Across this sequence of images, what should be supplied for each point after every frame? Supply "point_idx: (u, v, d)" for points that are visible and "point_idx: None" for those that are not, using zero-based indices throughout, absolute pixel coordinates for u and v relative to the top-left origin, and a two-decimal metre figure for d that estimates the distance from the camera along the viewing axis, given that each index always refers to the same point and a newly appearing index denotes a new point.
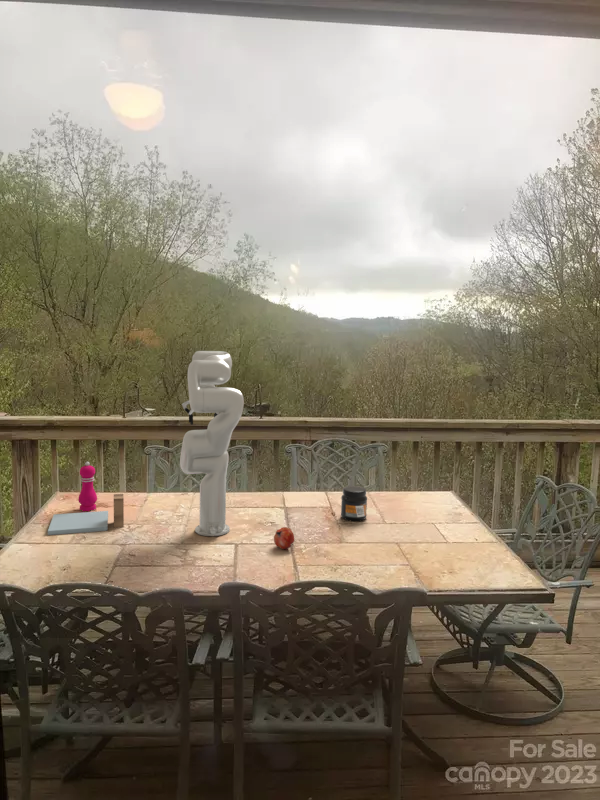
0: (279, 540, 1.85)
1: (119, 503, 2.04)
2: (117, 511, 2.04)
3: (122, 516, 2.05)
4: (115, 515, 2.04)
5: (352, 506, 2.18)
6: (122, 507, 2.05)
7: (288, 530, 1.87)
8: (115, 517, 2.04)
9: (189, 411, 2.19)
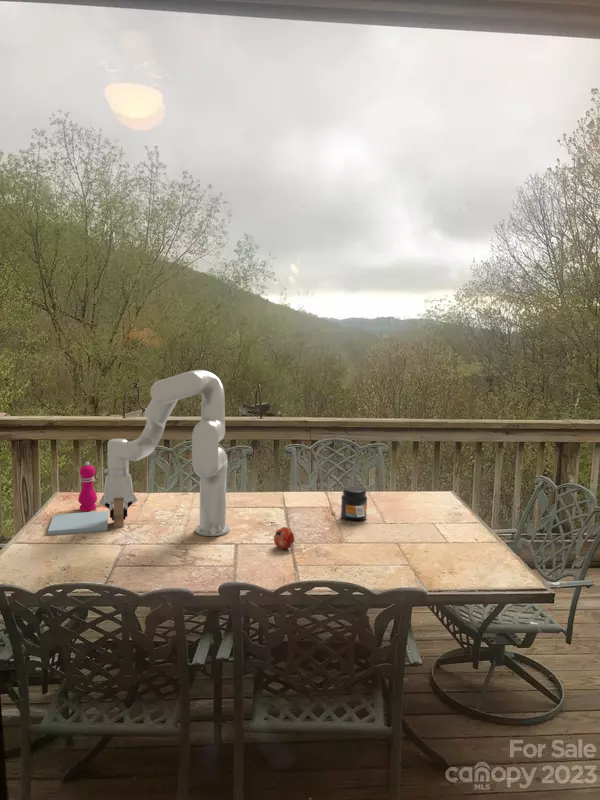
0: (279, 540, 1.85)
1: (119, 503, 2.04)
2: (117, 511, 2.04)
3: (122, 516, 2.05)
4: (115, 515, 2.04)
5: (352, 506, 2.18)
6: (122, 507, 2.05)
7: (288, 530, 1.87)
8: (115, 517, 2.04)
9: None
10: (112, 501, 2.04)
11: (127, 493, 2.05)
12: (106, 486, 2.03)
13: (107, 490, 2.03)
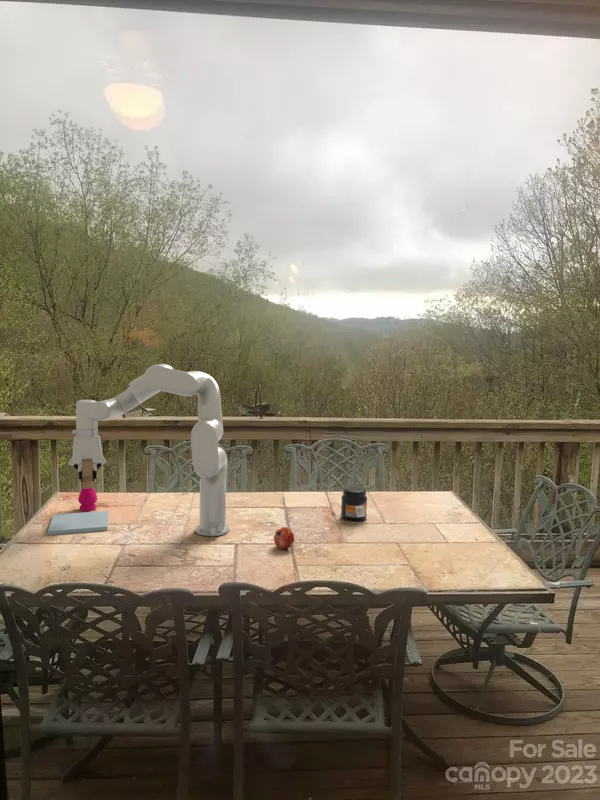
0: (279, 540, 1.85)
1: (88, 464, 2.03)
2: (86, 472, 2.03)
3: (91, 477, 2.04)
4: (84, 476, 2.03)
5: (352, 506, 2.18)
6: (91, 468, 2.04)
7: (288, 530, 1.87)
8: (84, 478, 2.03)
9: (77, 468, 2.05)
10: (80, 462, 2.03)
11: (96, 454, 2.04)
12: (74, 447, 2.02)
13: (75, 451, 2.02)
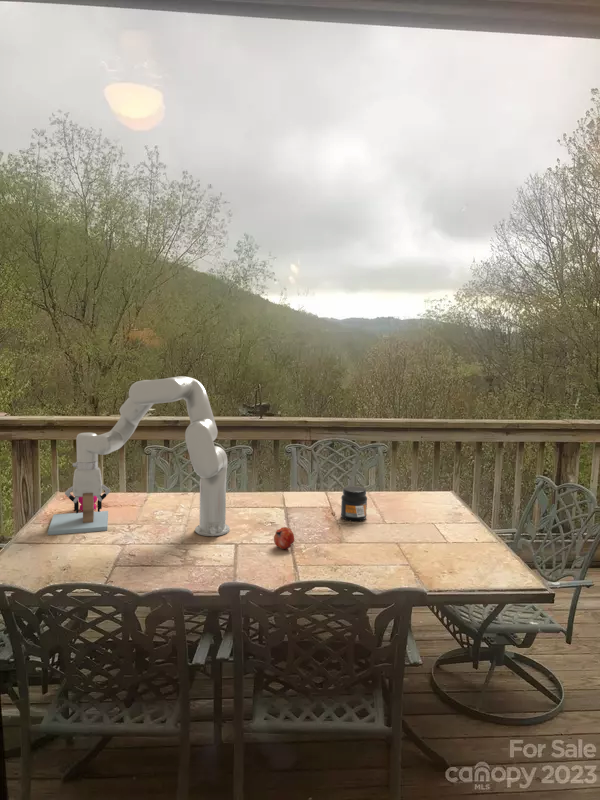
0: (279, 540, 1.85)
1: (88, 498, 2.04)
2: (86, 506, 2.04)
3: (91, 511, 2.05)
4: (84, 510, 2.04)
5: (352, 506, 2.18)
6: (91, 502, 2.05)
7: (288, 530, 1.87)
8: (84, 512, 2.04)
9: (73, 499, 2.05)
10: (81, 495, 2.04)
11: (96, 487, 2.06)
12: (75, 480, 2.03)
13: (76, 484, 2.03)
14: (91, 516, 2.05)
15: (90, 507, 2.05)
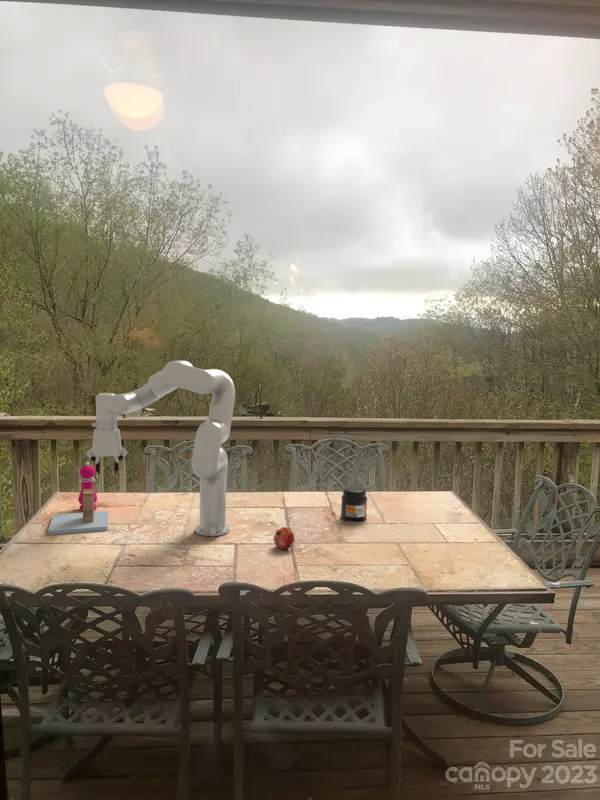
0: (279, 540, 1.85)
1: (88, 498, 2.04)
2: (86, 506, 2.04)
3: (91, 511, 2.05)
4: (84, 510, 2.04)
5: (352, 506, 2.18)
6: (91, 502, 2.05)
7: (288, 530, 1.87)
8: (84, 512, 2.04)
9: None
10: (100, 454, 2.05)
11: (115, 447, 2.06)
12: (94, 439, 2.04)
13: (95, 443, 2.04)
14: (91, 516, 2.05)
15: (90, 507, 2.05)
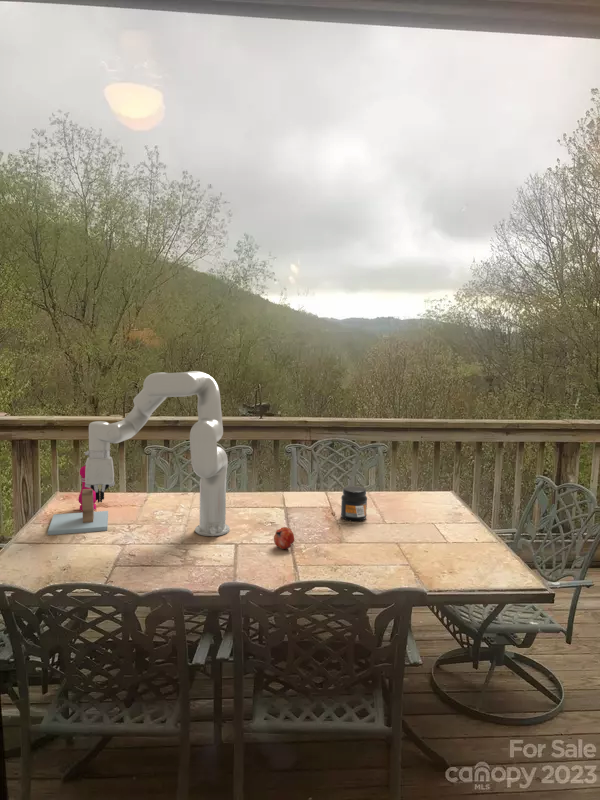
0: (279, 540, 1.85)
1: (87, 498, 2.04)
2: (86, 506, 2.04)
3: (91, 511, 2.05)
4: (84, 510, 2.04)
5: (352, 506, 2.18)
6: (91, 502, 2.05)
7: (288, 530, 1.87)
8: (84, 512, 2.04)
9: None
10: (93, 483, 2.05)
11: (108, 475, 2.06)
12: (87, 468, 2.04)
13: (88, 472, 2.04)
14: (91, 516, 2.05)
15: (90, 507, 2.05)
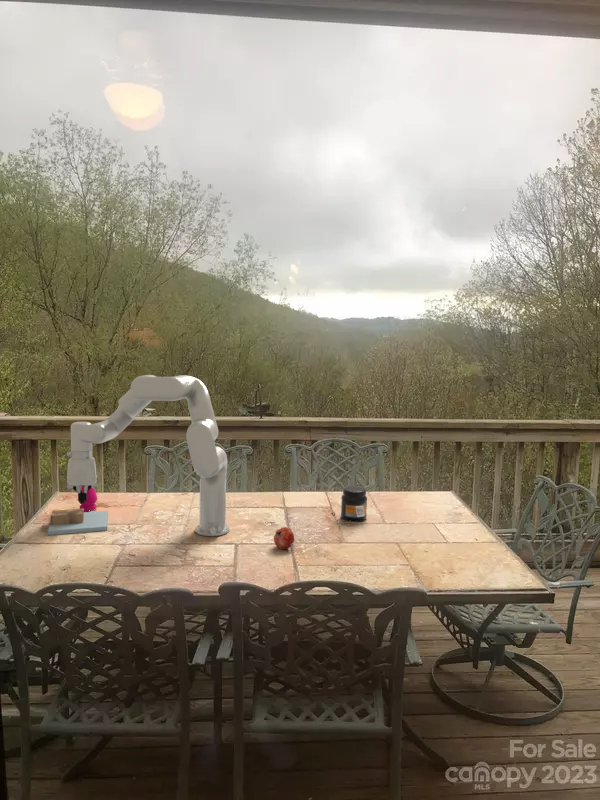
0: (279, 540, 1.85)
1: (55, 519, 2.01)
2: (64, 520, 2.02)
3: (70, 515, 2.03)
4: (69, 522, 2.03)
5: (352, 506, 2.18)
6: (60, 516, 2.02)
7: (288, 530, 1.87)
8: (71, 522, 2.03)
9: (76, 490, 2.05)
10: (75, 484, 2.03)
11: (90, 476, 2.05)
12: (69, 469, 2.02)
13: (70, 473, 2.02)
14: (76, 515, 2.03)
15: (66, 517, 2.02)
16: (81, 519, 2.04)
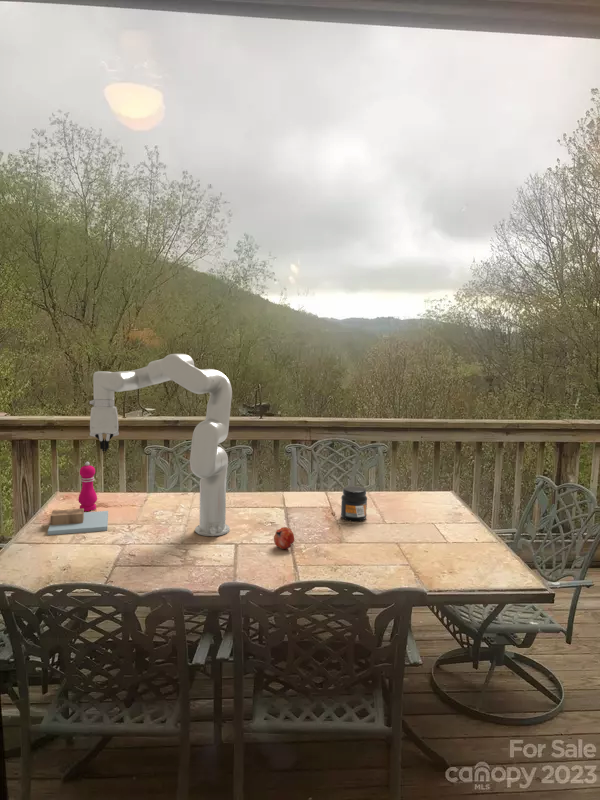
0: (279, 540, 1.85)
1: (55, 519, 2.01)
2: (64, 520, 2.02)
3: (70, 515, 2.03)
4: (69, 522, 2.03)
5: (352, 506, 2.18)
6: (60, 516, 2.02)
7: (288, 530, 1.87)
8: (71, 522, 2.03)
9: (99, 438, 2.10)
10: (98, 432, 2.08)
11: (113, 424, 2.09)
12: (92, 417, 2.07)
13: (93, 421, 2.07)
14: (76, 515, 2.03)
15: (66, 517, 2.02)
16: (81, 519, 2.04)
